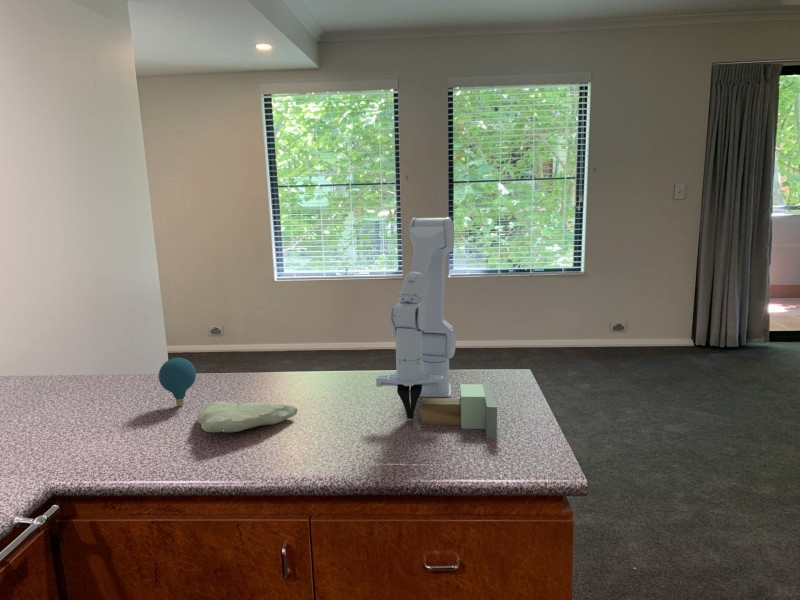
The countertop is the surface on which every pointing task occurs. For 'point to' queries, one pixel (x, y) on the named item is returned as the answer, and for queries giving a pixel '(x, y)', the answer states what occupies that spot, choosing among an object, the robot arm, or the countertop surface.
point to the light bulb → (177, 377)
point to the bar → (441, 411)
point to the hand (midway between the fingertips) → (410, 417)
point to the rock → (242, 415)
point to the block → (472, 406)
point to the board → (490, 411)
